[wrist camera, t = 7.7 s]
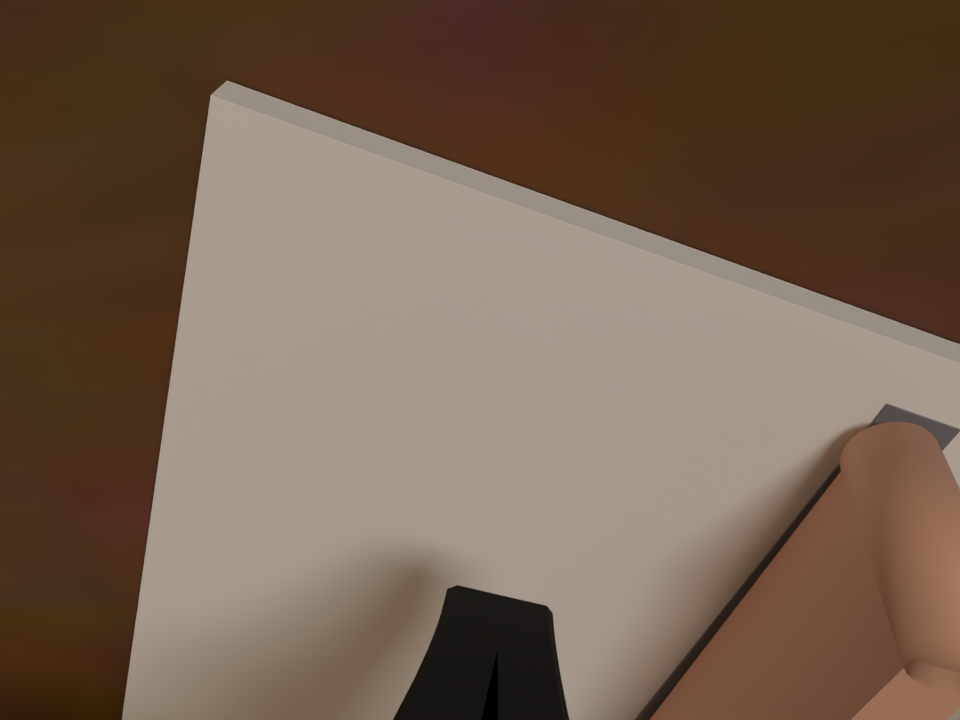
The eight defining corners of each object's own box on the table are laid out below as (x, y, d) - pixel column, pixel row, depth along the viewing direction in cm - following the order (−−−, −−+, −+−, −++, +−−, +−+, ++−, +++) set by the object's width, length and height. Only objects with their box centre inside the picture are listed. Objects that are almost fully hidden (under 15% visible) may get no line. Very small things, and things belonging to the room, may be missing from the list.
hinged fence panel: (693, 749, 18) (709, 938, 15) (629, 731, 18) (633, 918, 15) (960, 439, 13) (1060, 638, 10) (872, 409, 13) (948, 604, 10)
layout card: (227, 80, 12) (209, 95, 11) (1523, 547, 14) (1560, 578, 13) (125, 744, 22) (114, 768, 22) (871, 959, 24) (877, 986, 24)
